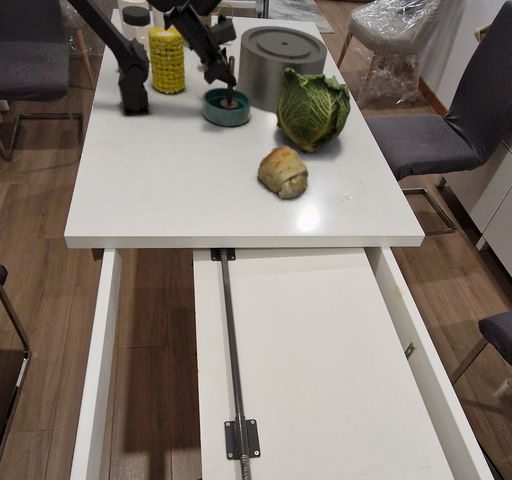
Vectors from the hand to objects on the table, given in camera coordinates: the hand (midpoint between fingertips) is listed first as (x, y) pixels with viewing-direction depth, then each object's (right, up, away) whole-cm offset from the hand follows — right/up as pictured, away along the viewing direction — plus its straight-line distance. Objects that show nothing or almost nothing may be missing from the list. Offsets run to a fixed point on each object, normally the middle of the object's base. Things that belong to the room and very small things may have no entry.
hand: (235, 83), depth 113 cm
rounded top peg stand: (-2, -4, +6) cm, 7 cm away
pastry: (+12, -30, -9) cm, 34 cm away
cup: (-23, +23, +24) cm, 40 cm away
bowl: (-3, -5, +6) cm, 9 cm away
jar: (-32, +22, +22) cm, 44 cm away
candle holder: (-35, +32, +28) cm, 55 cm away
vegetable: (+19, -14, +4) cm, 24 cm away
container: (+12, +8, +18) cm, 23 cm away
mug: (-12, +35, +33) cm, 50 cm away
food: (-21, +7, +12) cm, 25 cm away
